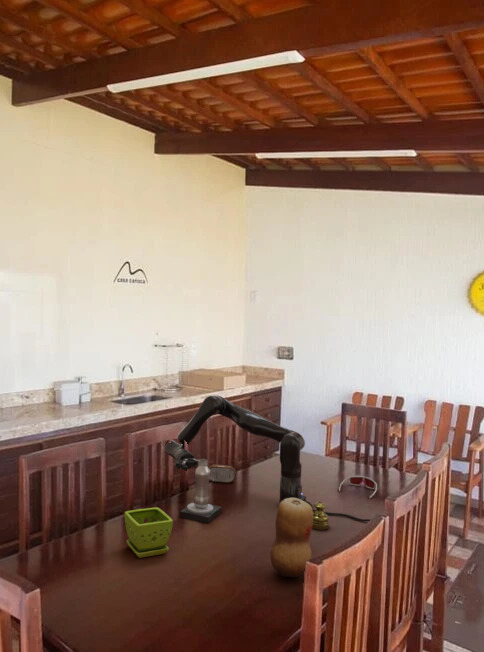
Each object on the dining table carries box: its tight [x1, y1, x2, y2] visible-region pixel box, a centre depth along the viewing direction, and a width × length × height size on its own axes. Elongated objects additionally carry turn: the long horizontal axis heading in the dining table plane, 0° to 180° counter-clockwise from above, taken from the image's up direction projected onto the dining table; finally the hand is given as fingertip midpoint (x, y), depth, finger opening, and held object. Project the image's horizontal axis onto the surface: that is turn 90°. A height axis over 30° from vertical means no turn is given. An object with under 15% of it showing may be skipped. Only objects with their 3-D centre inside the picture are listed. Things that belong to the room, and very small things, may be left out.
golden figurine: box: [312, 501, 330, 531], centre depth 220 cm, size 7×7×10 cm
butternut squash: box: [269, 498, 314, 578], centre depth 178 cm, size 14×13×25 cm
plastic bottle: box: [193, 458, 210, 508], centre depth 228 cm, size 6×7×20 cm
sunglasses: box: [338, 475, 378, 499], centre depth 268 cm, size 17×17×5 cm
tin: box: [208, 464, 237, 484], centre depth 272 cm, size 15×3×8 cm, turn 84°
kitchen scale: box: [179, 501, 223, 524], centre depth 228 cm, size 13×14×3 cm
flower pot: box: [124, 506, 174, 559], centre depth 192 cm, size 14×14×13 cm
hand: (195, 468), depth 237 cm, fingers open, 8 cm apart
